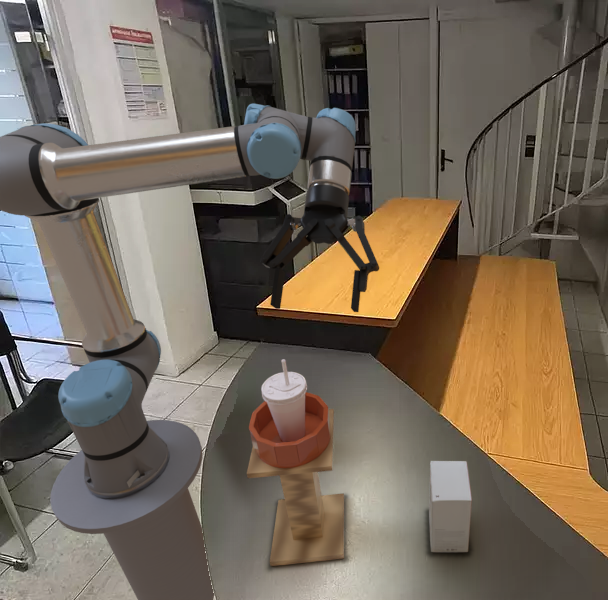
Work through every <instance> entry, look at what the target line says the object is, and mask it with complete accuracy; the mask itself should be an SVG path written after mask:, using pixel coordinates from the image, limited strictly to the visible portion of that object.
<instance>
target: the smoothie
mask: <svg viewBox="0 0 608 600" xmlns="http://www.w3.org/2000/svg"><path fill="white" fill-rule="evenodd" d="M280 361H281V366H282V372H277V373H275V374H273V375H271V376H269V377H268V378H266V380H265V381H264V382H263V383H262V385H261V387H260V390H261V398H262V400H263V401H266V402H267V404H268V407H269V409H270V412H271V414H272V417H273V420H274V422H275V425H276V427H277V430H278V433H279V435H280V438H281V440H282V441H283V442H292V441H297V440H299V439H301V438H303V437H304V436H305V393H306V392H308V391H307V390H308V385H307V380H306V378H305V377H304V375H302V374H300V373H299V372H294V371H288V366H287V360H286V359H285V358H283V359H280Z"/></svg>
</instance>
